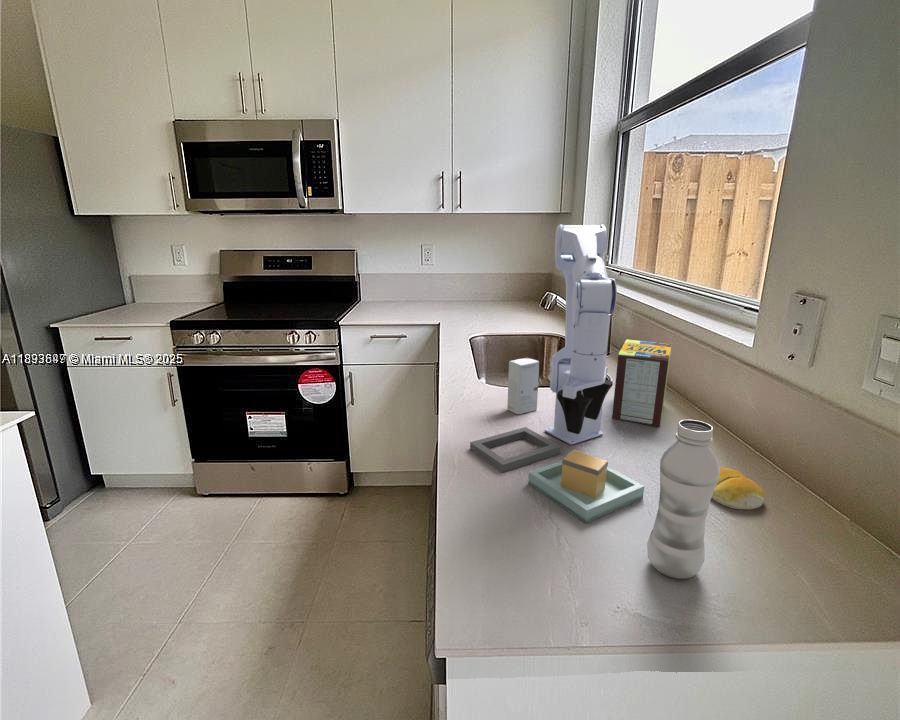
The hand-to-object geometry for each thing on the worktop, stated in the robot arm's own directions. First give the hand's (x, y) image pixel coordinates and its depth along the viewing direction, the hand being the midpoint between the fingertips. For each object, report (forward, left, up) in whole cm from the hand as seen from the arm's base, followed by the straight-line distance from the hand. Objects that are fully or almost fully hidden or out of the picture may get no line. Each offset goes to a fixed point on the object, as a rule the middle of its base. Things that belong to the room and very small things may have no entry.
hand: (582, 425), depth 83 cm
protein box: (-32, -12, -9) cm, 35 cm away
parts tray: (+5, +6, -8) cm, 11 cm away
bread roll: (-15, +19, -9) cm, 26 cm away
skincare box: (-9, -27, -9) cm, 30 cm away
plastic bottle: (+9, +25, -9) cm, 28 cm away
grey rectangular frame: (+6, -11, -8) cm, 15 cm away
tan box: (+5, +6, -8) cm, 11 cm away
